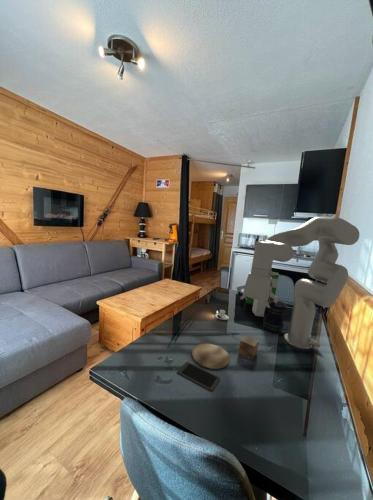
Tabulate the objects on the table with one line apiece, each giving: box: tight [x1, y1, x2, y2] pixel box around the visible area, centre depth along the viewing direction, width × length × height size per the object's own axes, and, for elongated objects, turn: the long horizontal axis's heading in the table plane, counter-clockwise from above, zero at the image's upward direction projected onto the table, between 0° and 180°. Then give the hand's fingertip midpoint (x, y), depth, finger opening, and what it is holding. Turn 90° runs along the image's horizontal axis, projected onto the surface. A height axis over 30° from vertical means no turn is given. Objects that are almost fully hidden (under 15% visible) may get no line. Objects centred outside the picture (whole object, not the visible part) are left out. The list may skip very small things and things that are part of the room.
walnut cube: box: [238, 334, 260, 360], centre depth 92 cm, size 6×6×6 cm
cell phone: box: [176, 361, 221, 392], centre depth 76 cm, size 7×14×1 cm, turn 59°
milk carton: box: [251, 299, 270, 318], centre depth 134 cm, size 7×7×19 cm
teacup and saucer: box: [214, 309, 230, 321], centre depth 125 cm, size 9×8×4 cm
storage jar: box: [262, 300, 288, 335], centre depth 116 cm, size 10×10×15 cm
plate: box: [191, 343, 231, 370], centre depth 87 cm, size 15×15×1 cm
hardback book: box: [245, 271, 280, 306], centre depth 152 cm, size 18×7×24 cm, turn 70°
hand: (253, 311), depth 90 cm, fingers open, 9 cm apart
